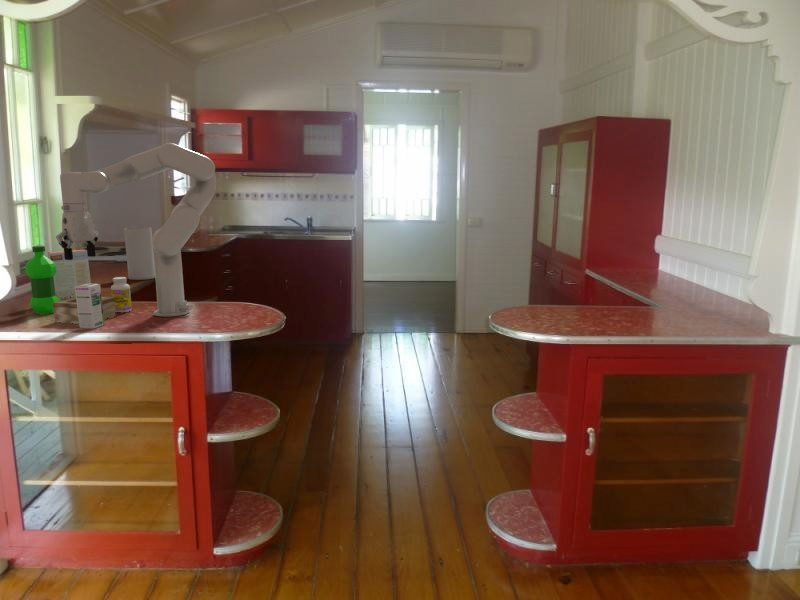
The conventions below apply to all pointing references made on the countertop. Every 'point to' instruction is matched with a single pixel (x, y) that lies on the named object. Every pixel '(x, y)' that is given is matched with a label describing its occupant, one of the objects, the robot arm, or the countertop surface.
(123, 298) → the supplement bottle
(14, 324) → the countertop surface
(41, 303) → the plastic bottle
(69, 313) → the wooden box
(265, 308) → the countertop surface
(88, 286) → the syrup box
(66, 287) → the cracker box
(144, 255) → the cylinder vase
